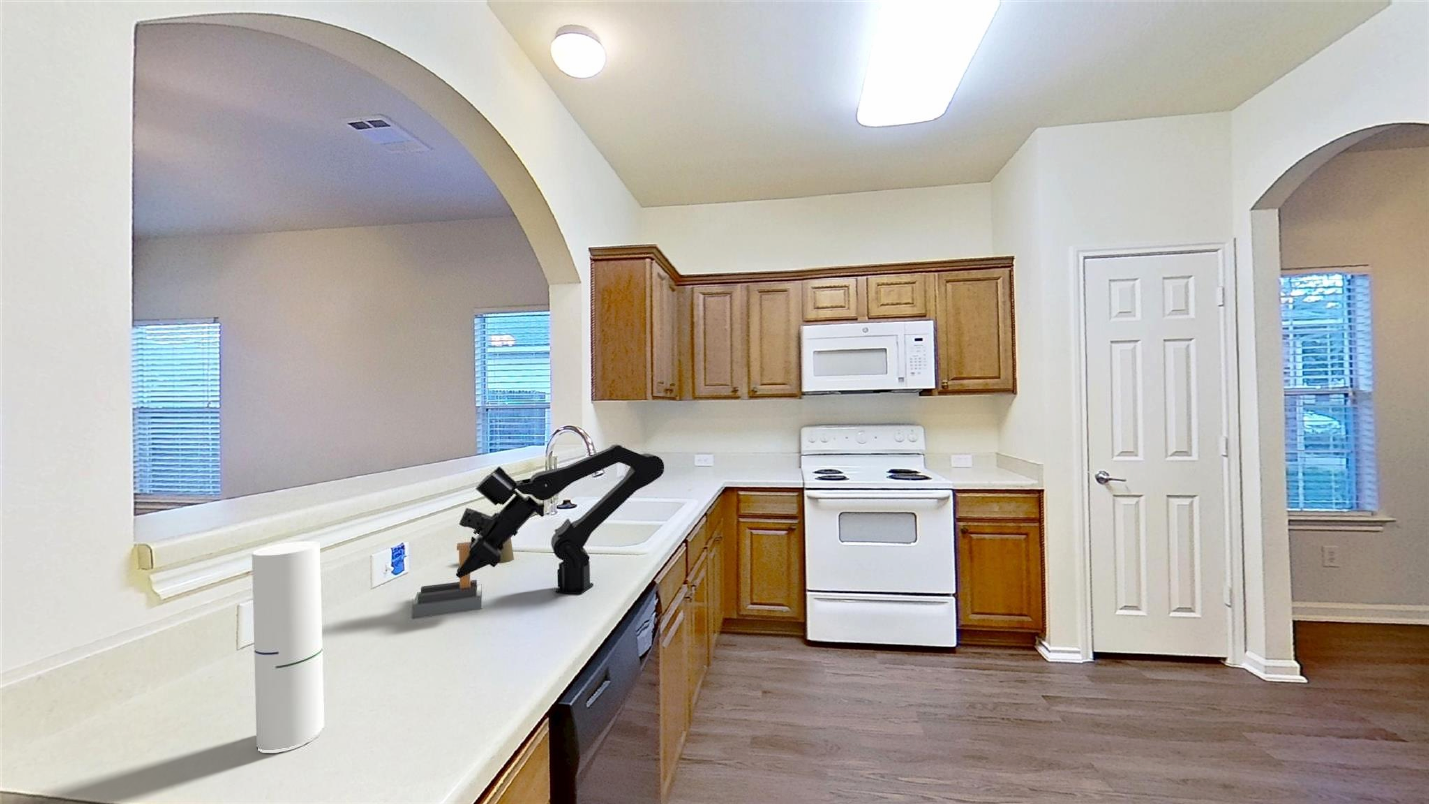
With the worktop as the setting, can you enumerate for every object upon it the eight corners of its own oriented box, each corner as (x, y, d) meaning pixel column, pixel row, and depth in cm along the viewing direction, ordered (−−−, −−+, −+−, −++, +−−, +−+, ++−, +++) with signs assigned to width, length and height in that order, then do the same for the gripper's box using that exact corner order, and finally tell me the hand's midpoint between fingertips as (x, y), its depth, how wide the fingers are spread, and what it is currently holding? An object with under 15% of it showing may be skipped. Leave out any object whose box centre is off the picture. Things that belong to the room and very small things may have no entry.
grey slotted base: (482, 595, 129) (481, 577, 129) (481, 608, 121) (480, 590, 121) (417, 603, 124) (417, 585, 124) (412, 618, 116) (411, 598, 116)
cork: (506, 563, 154) (505, 522, 154) (486, 562, 155) (485, 522, 155) (518, 557, 160) (517, 518, 160) (498, 556, 161) (498, 517, 161)
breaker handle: (472, 588, 126) (471, 541, 126) (472, 593, 123) (471, 545, 123) (458, 590, 125) (457, 543, 125) (457, 594, 122) (456, 546, 122)
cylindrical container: (280, 723, 79) (276, 542, 78) (335, 720, 79) (331, 540, 79) (242, 756, 71) (237, 556, 71) (302, 752, 72) (298, 554, 72)
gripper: (483, 489, 134) (432, 541, 130) (481, 502, 116) (422, 562, 112) (519, 519, 137) (470, 571, 133) (523, 536, 119) (467, 597, 115)
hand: (457, 574), depth 123 cm, fingers closed on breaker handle, 2 cm apart
